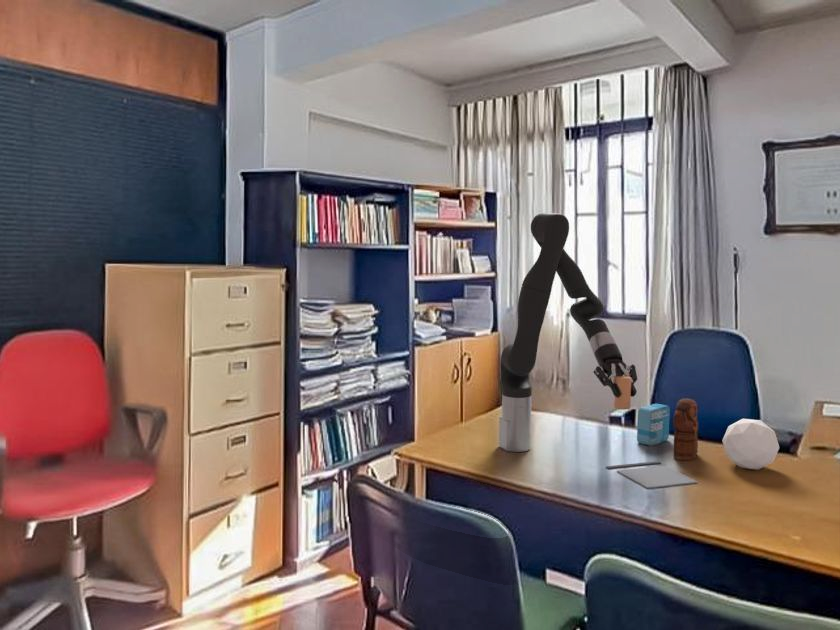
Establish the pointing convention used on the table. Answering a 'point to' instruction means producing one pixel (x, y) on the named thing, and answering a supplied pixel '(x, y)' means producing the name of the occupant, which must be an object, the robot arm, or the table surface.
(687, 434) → the wooden figurine
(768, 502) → the table surface
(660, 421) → the data package
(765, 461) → the geometric sphere
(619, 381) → the throwing cylinder
